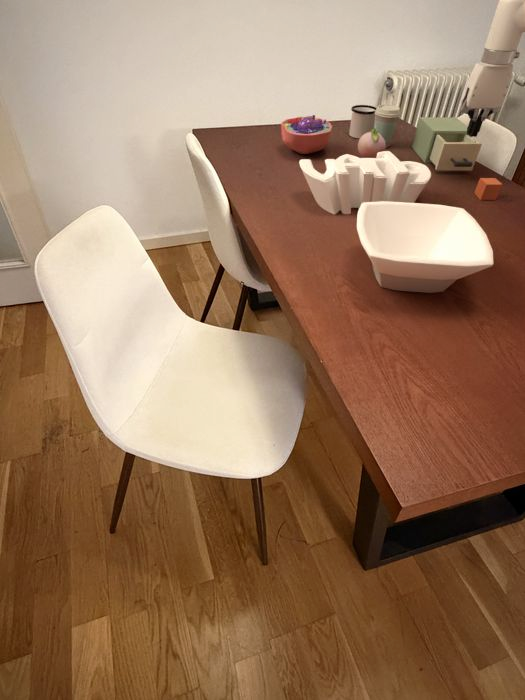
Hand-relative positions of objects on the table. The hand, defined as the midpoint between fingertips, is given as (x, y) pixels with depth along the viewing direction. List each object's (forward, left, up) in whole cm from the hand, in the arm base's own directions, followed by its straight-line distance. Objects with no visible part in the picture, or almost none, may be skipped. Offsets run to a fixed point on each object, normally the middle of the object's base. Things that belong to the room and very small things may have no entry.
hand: (471, 135), depth 116 cm
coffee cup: (+17, -27, -12) cm, 35 cm away
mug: (+22, -39, -12) cm, 47 cm away
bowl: (+30, +53, -12) cm, 62 cm away
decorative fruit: (+25, -11, -12) cm, 30 cm away
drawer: (0, -7, -11) cm, 13 cm away
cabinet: (0, -18, -12) cm, 22 cm away
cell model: (+45, -21, -12) cm, 52 cm away
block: (-3, +15, -12) cm, 19 cm away
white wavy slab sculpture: (+33, +18, -12) cm, 40 cm away
